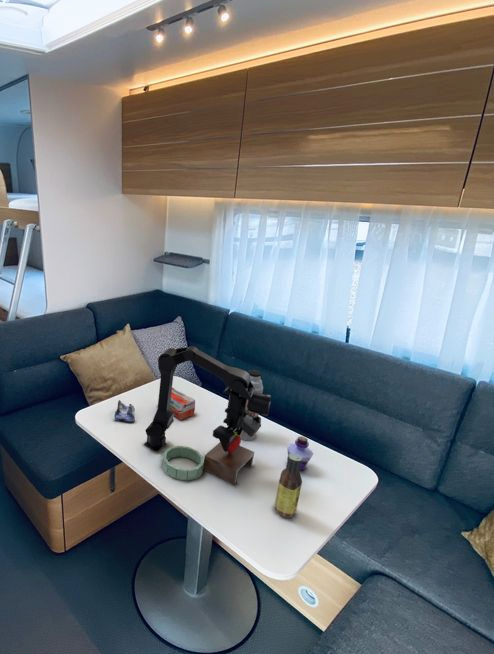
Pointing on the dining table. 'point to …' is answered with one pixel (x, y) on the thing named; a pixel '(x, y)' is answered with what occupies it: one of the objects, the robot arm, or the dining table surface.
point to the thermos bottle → (258, 386)
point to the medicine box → (181, 404)
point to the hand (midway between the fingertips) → (230, 446)
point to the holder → (179, 472)
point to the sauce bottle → (289, 487)
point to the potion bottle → (301, 450)
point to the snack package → (125, 412)
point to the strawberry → (234, 444)
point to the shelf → (227, 462)
